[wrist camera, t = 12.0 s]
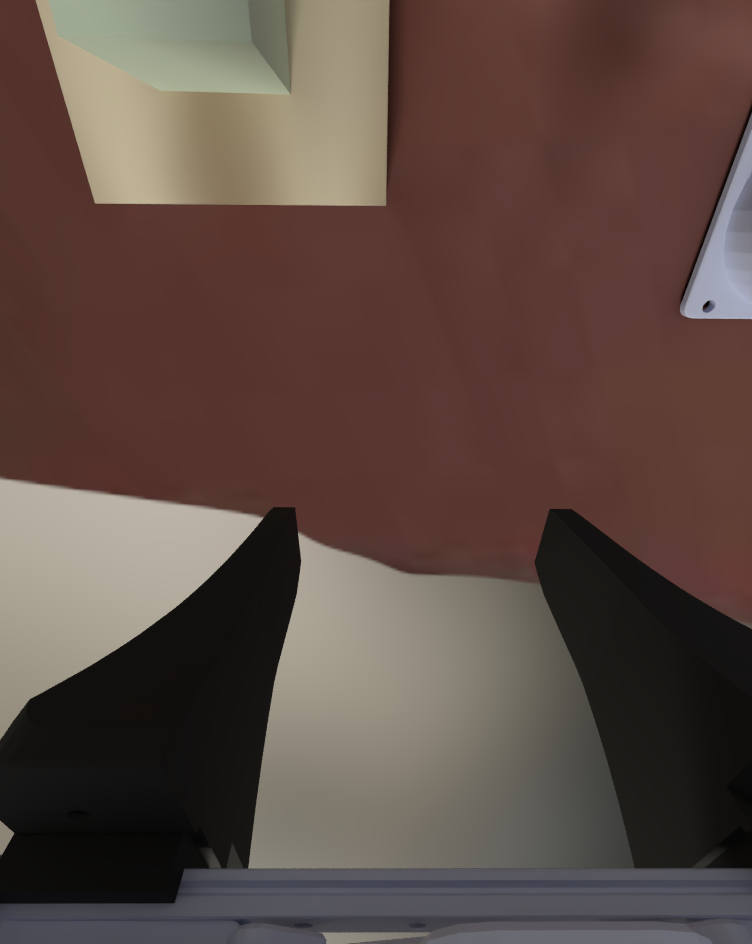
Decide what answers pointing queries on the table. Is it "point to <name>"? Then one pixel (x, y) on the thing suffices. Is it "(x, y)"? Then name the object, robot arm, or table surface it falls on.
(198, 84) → the sage block
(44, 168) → the table surface
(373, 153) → the birch block
